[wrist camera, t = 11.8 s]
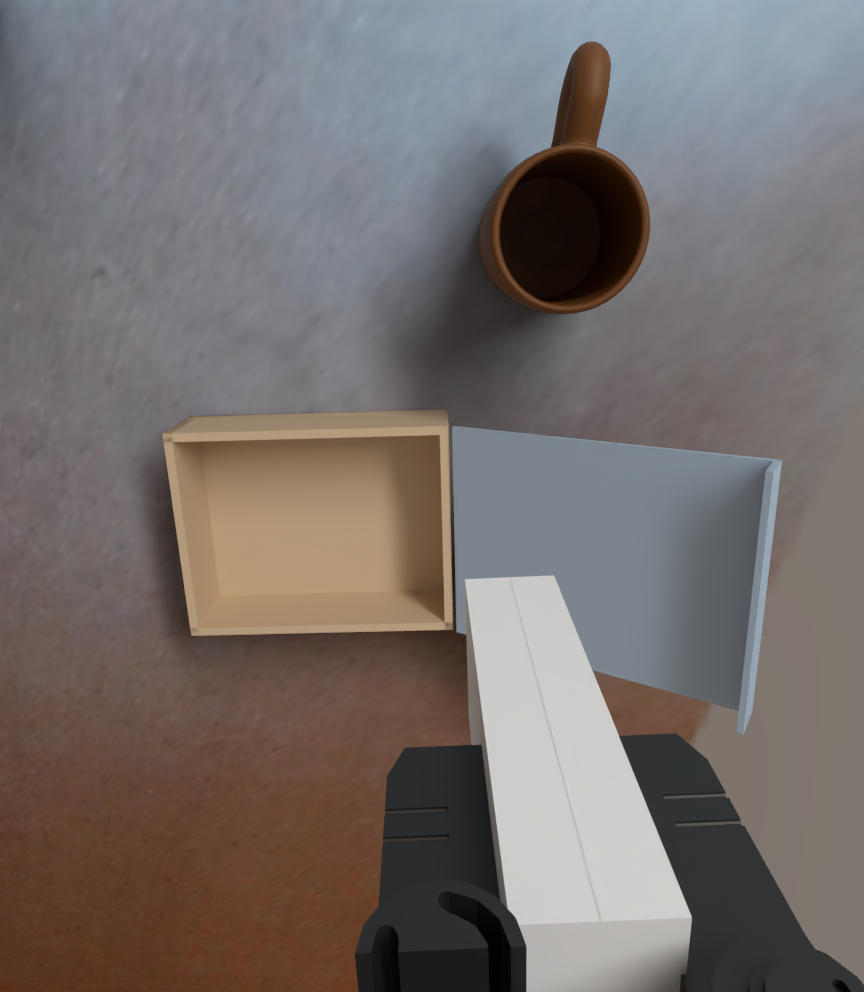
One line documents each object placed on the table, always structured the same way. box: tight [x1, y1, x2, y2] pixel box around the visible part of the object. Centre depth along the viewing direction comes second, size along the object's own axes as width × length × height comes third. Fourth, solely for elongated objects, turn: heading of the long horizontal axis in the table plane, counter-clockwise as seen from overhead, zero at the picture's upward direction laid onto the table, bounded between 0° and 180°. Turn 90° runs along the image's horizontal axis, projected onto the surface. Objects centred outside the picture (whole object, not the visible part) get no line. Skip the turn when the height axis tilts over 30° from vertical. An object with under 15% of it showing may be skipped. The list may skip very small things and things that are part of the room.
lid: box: [452, 426, 782, 734], centre depth 37 cm, size 17×13×2 cm
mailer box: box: [162, 409, 453, 636], centre depth 45 cm, size 16×13×5 cm
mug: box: [478, 42, 650, 314], centre depth 37 cm, size 12×8×9 cm, turn 174°
